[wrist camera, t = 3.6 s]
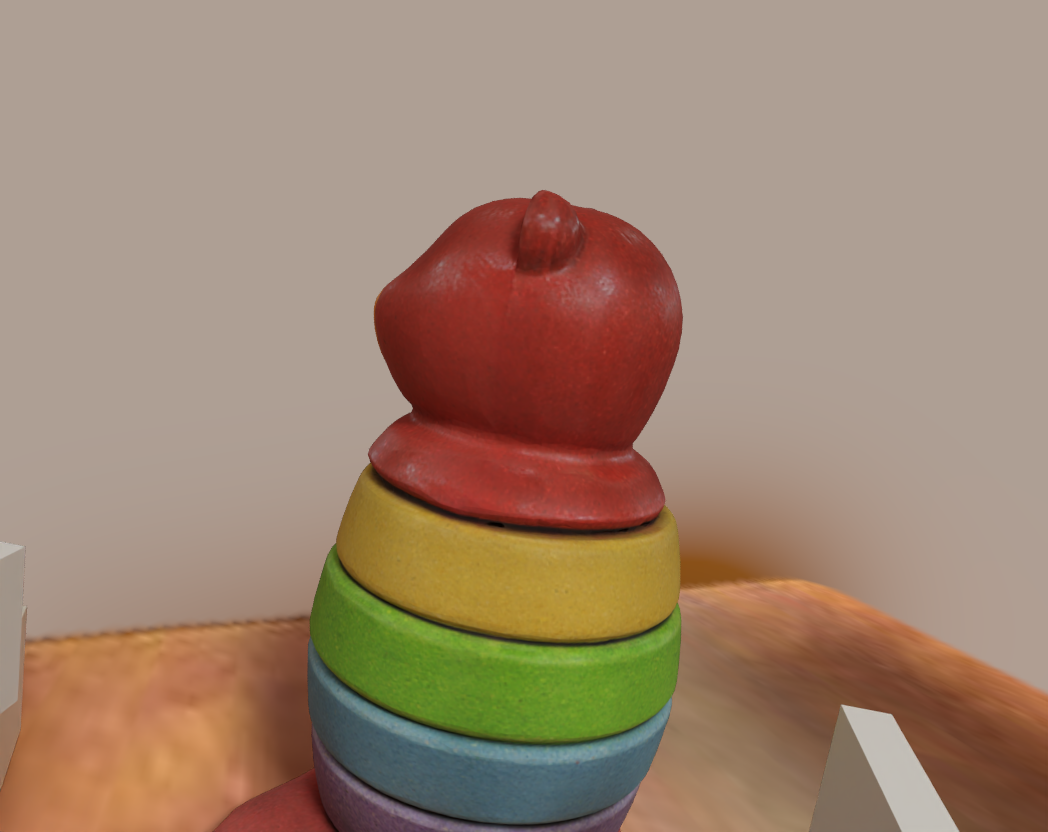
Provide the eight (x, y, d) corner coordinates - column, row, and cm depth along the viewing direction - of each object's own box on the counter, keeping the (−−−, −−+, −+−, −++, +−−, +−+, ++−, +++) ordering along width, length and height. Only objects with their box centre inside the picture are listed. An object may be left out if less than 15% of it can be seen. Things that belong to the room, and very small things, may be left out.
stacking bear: (388, 711, 32) (462, 188, 28) (671, 819, 28) (796, 239, 25) (156, 903, 22) (224, 136, 18) (547, 1106, 18) (726, 208, 15)
